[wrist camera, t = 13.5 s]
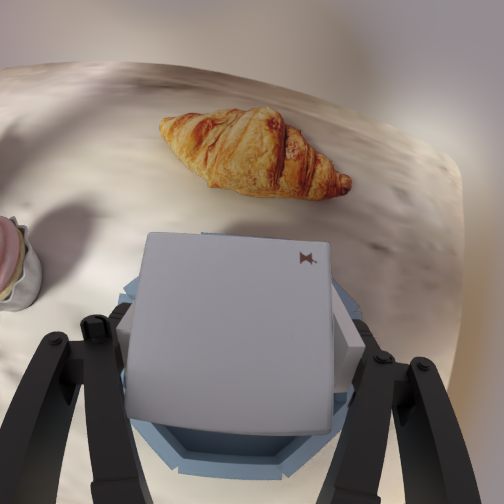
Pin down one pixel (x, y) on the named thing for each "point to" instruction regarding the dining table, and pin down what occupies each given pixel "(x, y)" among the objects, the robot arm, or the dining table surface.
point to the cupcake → (17, 267)
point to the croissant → (253, 154)
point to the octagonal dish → (238, 445)
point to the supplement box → (233, 335)
